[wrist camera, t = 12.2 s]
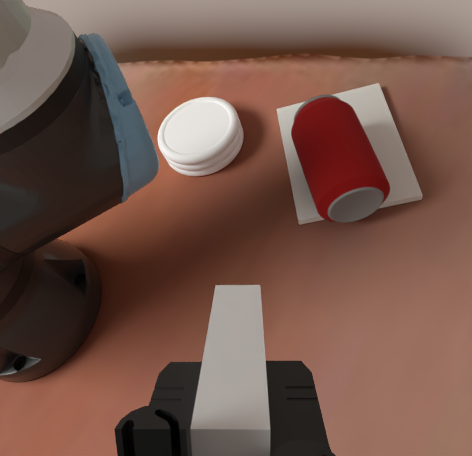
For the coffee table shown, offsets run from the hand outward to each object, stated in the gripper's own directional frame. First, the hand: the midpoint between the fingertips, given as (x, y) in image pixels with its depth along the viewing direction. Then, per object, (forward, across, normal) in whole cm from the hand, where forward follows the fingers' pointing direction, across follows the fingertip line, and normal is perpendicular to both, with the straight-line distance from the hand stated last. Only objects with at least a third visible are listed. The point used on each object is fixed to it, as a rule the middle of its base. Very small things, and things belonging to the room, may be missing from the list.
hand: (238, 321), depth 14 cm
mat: (+34, +11, +2) cm, 36 cm away
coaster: (+40, -5, +2) cm, 41 cm away
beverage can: (+24, +10, -2) cm, 26 cm away
